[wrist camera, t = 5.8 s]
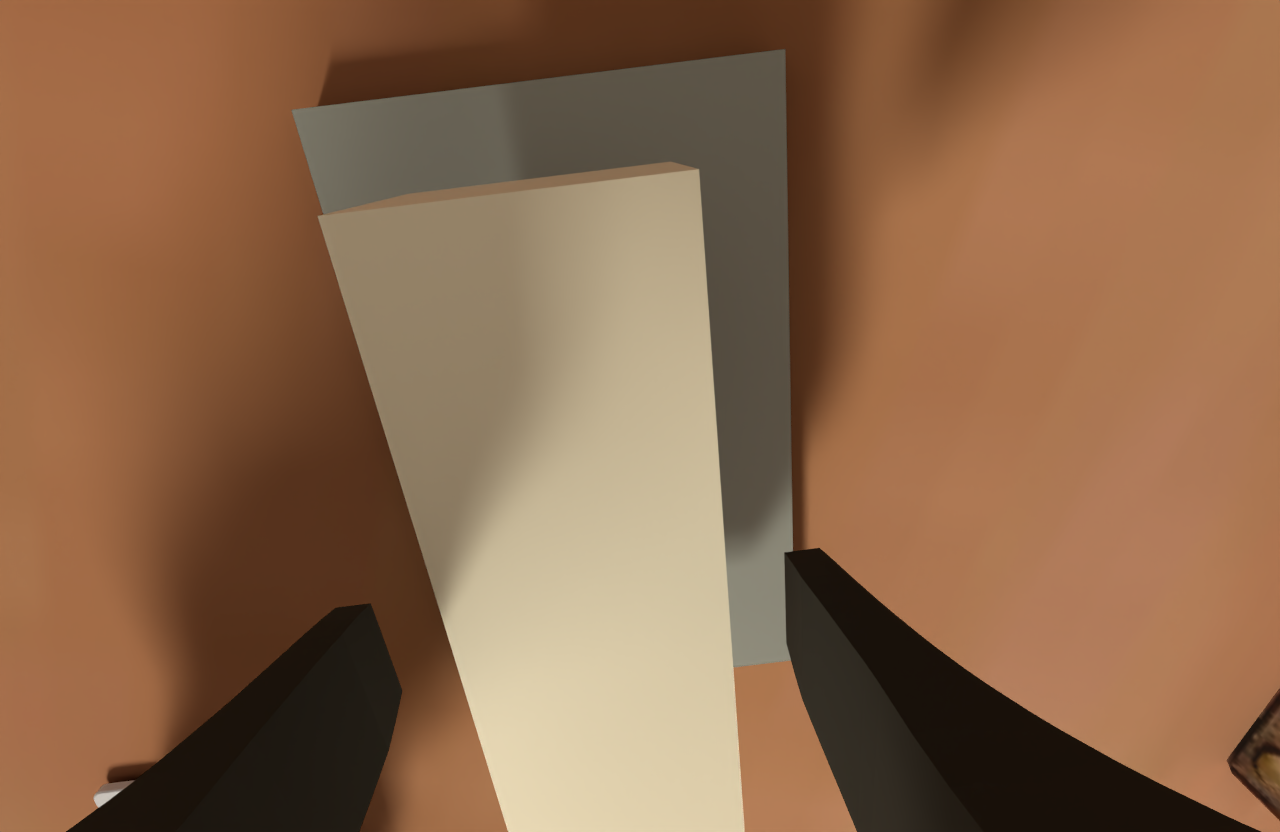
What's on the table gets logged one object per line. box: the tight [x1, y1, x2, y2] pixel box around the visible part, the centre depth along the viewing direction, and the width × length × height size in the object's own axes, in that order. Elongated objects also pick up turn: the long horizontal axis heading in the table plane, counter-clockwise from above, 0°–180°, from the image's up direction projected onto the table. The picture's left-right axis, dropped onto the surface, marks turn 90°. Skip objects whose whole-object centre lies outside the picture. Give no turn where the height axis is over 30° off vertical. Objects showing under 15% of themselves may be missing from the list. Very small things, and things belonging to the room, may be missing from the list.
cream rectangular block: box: [318, 162, 745, 832], centre depth 13 cm, size 14×5×4 cm, turn 6°
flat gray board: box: [292, 49, 793, 667], centre depth 17 cm, size 18×11×4 cm, turn 6°
